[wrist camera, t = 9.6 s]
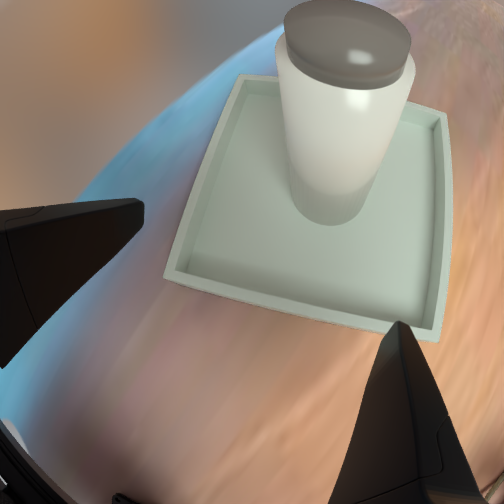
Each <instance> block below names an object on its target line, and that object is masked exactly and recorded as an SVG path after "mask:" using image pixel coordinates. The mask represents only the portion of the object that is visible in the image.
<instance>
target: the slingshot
mask: <svg viewBox="0 0 504 504" xmlns="http://www.w3.org/2000/svg"><path fill="white" fill-rule="evenodd" d="M503 480H504V472H503V474H502V475H501V476H500V477H499V478H498V480H497V481H496V482H495V484H494V485H493V486H492V488H491V489H490V491H489V492H488V493H487V495H486V496H485V498H484V499H485V500H486V501H487V502H488V501H489V500H490V498H491V497H492V495H493V494H494V492H495V491H496V489H497V488H498V487H499V485H500V484H501V483H502V481H503Z"/></svg>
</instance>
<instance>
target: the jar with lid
mask: <svg viewBox="0 0 504 504" xmlns="http://www.w3.org/2000/svg"><path fill="white" fill-rule="evenodd" d="M284 30H285V32H284V33H283V34H282V35H281V36H280V37H279V39H278V41H277V43H276V46H275V57H276V64H277V71H278V79H279V86H280V94H281V102H282V110H283V118H284V127H285V136H286V145H287V155H288V165H289V175H290V186H291V195H292V199H293V202H294V204H295V206H296V208H297V209H298V211H299V212H300V213H301V214H302V215H303V216H304V217H306V218H307V219H308V220H310V221H312V222H314V223H317V224H320V225H325V226H336V225H341V224H344V223H347V222H348V221H350V220H352V219H353V218H354V217H356V216H357V215H358V213H359V212H360V211H361V209H362V207H363V205H364V203H365V201H366V198H367V196H368V194H369V192H370V189H371V187H372V185H373V183H374V180H375V178H376V176H377V173H378V171H379V169H380V166H381V164H382V162H383V159H384V157H385V154H386V152H387V150H388V147H389V145H390V142H391V140H392V137H393V135H394V132H395V130H396V127H397V124H398V122H399V119H400V117H401V114H402V111H403V109H404V106H405V103H406V100H407V98H408V95H409V92H410V89H411V86H412V83H413V80H414V77H415V64H414V61H413V59H412V57H411V55H410V53H409V50H410V47H411V36H410V33H409V32H408V30H407V29H406V27H405V26H404V25H403V24H402V23H401V22H400V21H399V20H398V19H397V18H395V17H394V16H392V15H391V14H389V13H387V12H386V11H384V10H382V9H380V8H377V7H375V6H372V5H369V4H366V3H363V2H359V1H354V0H312V1H307V2H304V3H301V4H299V5H297V6H295V7H294V8H292V9H291V10H290V11H289V12H288V13H287V14H286V16H285V18H284Z"/></svg>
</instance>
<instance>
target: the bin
mask: <svg viewBox="0 0 504 504" xmlns="http://www.w3.org/2000/svg"><path fill="white" fill-rule="evenodd" d="M452 230H453V181H452V162H451V149H450V138H449V130H448V122H447V114H446V113H443V112H440V111H437V110H434V109H431V108H428V107H425V106H422V105H419V104H415V103H412V102H409V101H406V103H405V106H404V109H403V111H402V114H401V117H400V119H399V122H398V124H397V127H396V130H395V132H394V135H393V137H392V140H391V142H390V145H389V147H388V150H387V152H386V154H385V157H384V159H383V162H382V164H381V166H380V169H379V171H378V173H377V176H376V178H375V180H374V183H373V185H372V187H371V189H370V192H369V194H368V196H367V198H366V201H365V203H364V205H363V207H362V209H361V211H360V212H359V213H358V215H357V216H356V217H354V218H353V219H352V220H350V221H348V222H347V223H344V224H341V225H336V226H325V225H320V224H317V223H314V222H312V221H310V220H308V219H307V218H306V217H304V216H303V215H302V214H301V213H300V212H299V211H298V209H297V208H296V206H295V204H294V202H293V199H292V195H291V186H290V175H289V165H288V155H287V145H286V136H285V127H284V118H283V110H282V102H281V94H280V86H279V79H278V77H275V76H263V75H247V74H239V76H238V78H237V80H236V82H235V84H234V87H233V89H232V91H231V93H230V95H229V98H228V100H227V102H226V105H225V107H224V109H223V112H222V114H221V116H220V119H219V121H218V123H217V126H216V128H215V131H214V133H213V136H212V138H211V141H210V143H209V146H208V148H207V151H206V153H205V156H204V158H203V161H202V163H201V166H200V169H199V171H198V174H197V177H196V179H195V182H194V185H193V187H192V190H191V193H190V196H189V199H188V201H187V204H186V207H185V210H184V213H183V216H182V219H181V222H180V224H179V227H178V230H177V233H176V236H175V240H174V243H173V246H172V249H171V252H170V255H169V258H168V261H167V265H166V268H165V271H164V275H163V278H164V279H167V280H169V281H172V282H174V283H176V284H179V285H182V286H186V287H189V288H193V289H196V290H200V291H203V292H207V293H210V294H214V295H218V296H221V297H225V298H229V299H232V300H236V301H240V302H244V303H248V304H251V305H255V306H259V307H263V308H267V309H271V310H275V311H279V312H283V313H287V314H291V315H296V316H300V317H304V318H308V319H313V320H317V321H321V322H326V323H330V324H335V325H339V326H344V327H348V328H353V329H358V330H363V331H368V332H372V333H377V334H382V335H386V333H387V332H388V331H389V329H390V328H391V327H392V325H393V324H394V323H395V322H396V321H397V320H400V321H402V322H404V323H406V324H408V325H409V326H410V328H411V330H412V332H413V334H414V336H415V338H416V340H417V341H420V342H433V343H439V338H440V333H441V328H442V323H443V317H444V311H445V304H446V298H447V290H448V282H449V273H450V262H451V249H452Z"/></svg>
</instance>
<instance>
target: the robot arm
mask: <svg viewBox="0 0 504 504" xmlns="http://www.w3.org/2000/svg"><path fill="white" fill-rule="evenodd" d="M143 224H144V203H143V202H142V201H140V200H138V199H136V198H124V199H111V200H99V201H87V202H77V203H67V204H58V205H49V206H40V207H31V208H21V209H11V210H0V367H1V369H3V368H4V367H5V366H6V365H7V364H8V363H9V362H10V361H11V360H12V358H13V357H14V356H15V355H16V354H17V353H18V352H19V351H20V349H21V348H22V347H23V346H24V345H25V344H26V343H27V342H28V341H29V340H30V339H31V337H32V336H33V335H34V334H35V333H36V332H37V331H38V330H39V329H40V328H41V327H42V326H43V325H44V324H45V322H46V321H47V320H48V319H49V318H50V317H51V316H52V315H53V314H54V313H55V312H56V311H57V310H58V309H59V308H60V307H61V306H62V305H63V304H64V303H65V302H66V301H67V300H68V299H69V298H70V297H71V296H72V295H74V294H75V293H76V292H77V291H78V290H79V289H80V288H81V287H82V286H83V285H84V284H85V283H86V282H87V281H88V280H89V279H90V278H91V277H93V276H94V275H95V274H96V273H97V272H98V271H99V270H100V269H101V268H102V267H103V266H105V265H106V264H107V263H108V262H109V261H110V260H111V259H112V258H113V257H114V256H115V255H116V254H117V253H118V252H119V251H120V250H121V249H122V248H123V247H124V246H125V245H126V244H127V243H128V242H129V241H130V240H131V239H132V238H133V237H134V235H135V234H136V233H137V232H138V231H139V230H140V229H141V228H142V226H143ZM0 475H1V477H2V478H3V479H4V480H5V482H6V483H7V485H5V484H4V483H3V481H2V480H1V479H0V504H78V503H76V502H75V501H74V500H73V499H72V498H71V497H70V496H68V495H67V494H66V493H65V492H64V491H63V490H62V489H61V488H60V487H59V486H58V485H57V484H56V483H55V482H54V481H53V480H52V479H51V478H50V477H49V476H48V475H47V474H46V473H45V472H44V471H43V470H42V469H41V468H40V467H39V466H38V465H37V464H36V463H35V462H34V460H33V459H32V458H31V457H30V456H29V455H28V454H27V453H26V451H25V450H24V449H23V448H22V447H21V446H20V444H19V443H18V442H17V441H16V439H15V438H14V437H13V436H12V434H11V433H10V432H9V430H8V429H7V428H6V427H5V425H4V424H3V422H2V421H1V420H0ZM118 498H119V499H120V500H119V499H118ZM112 504H138V503H136V502H134V501H132V500H131V499H129V498H127V497H125V496H123V495H121V494H119V493H116V494H115V495H113V497H112ZM328 504H489V503H488V502H487V501H486V500H485V499H484V498H483V496H482V495H481V493H480V491H479V488H478V486H477V483H476V481H475V478H474V476H473V473H472V471H471V468H470V466H469V464H468V461H467V459H466V456H465V454H464V452H463V449H462V447H461V444H460V442H459V440H458V437H457V434H456V432H455V429H454V426H453V424H452V421H451V418H450V416H448V411H447V408H446V406H445V403H444V401H443V398H442V396H441V393H440V391H439V389H438V386H437V384H436V381H435V379H434V377H433V375H432V372H431V370H430V368H429V366H428V363H427V361H426V359H425V357H424V355H423V352H422V350H421V348H420V346H419V344H418V342H417V340H416V338H415V336H414V334H413V332H412V330H411V328H410V326H409V325H408V324H406V323H404V322H402V321H400V320H397V321H396V322H395V323H394V324H393V325H392V327H391V328H390V329H389V331H388V332H387V333H386V335H385V336H384V338H383V339H382V341H381V343H380V346H379V349H378V352H377V355H376V358H375V361H374V364H373V367H372V370H371V373H370V376H369V378H368V381H367V384H366V387H365V391H364V395H363V398H362V402H361V406H360V410H359V414H358V417H357V421H356V424H355V428H354V431H353V434H352V437H351V441H350V444H349V447H348V450H347V453H346V456H345V459H344V462H343V465H342V468H341V471H340V473H339V476H338V479H337V481H336V484H335V487H334V489H333V492H332V494H331V497H330V499H329V502H328Z"/></svg>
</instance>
